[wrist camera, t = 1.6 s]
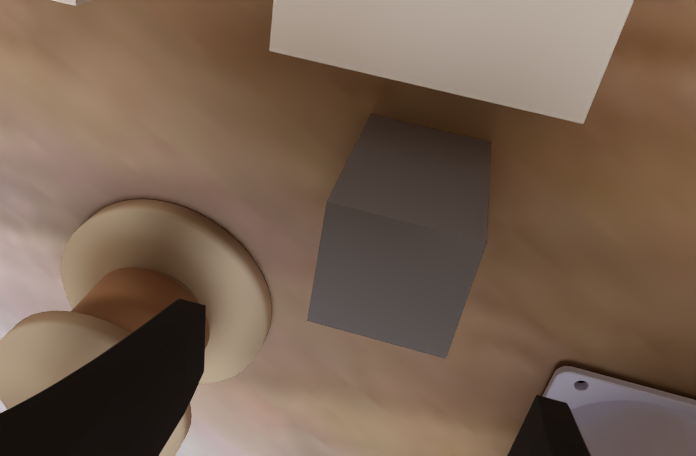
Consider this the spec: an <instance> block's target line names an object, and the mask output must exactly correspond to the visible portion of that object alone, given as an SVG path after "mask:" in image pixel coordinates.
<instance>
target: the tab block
mask: <svg viewBox="0 0 696 456" xmlns="http://www.w3.org/2000/svg"><path fill="white" fill-rule="evenodd" d="M490 156H491V142H487V141H483V140H479V139H475V138H470V137H466V136H462V135H458V134H454V133H450V132H445V131H441V130H437V129H433V128H429V127H424V126H420V125H416V124H412V123H408V122H403V121H399V120H395V119H391V118H387V117H383V116H378V115H374V114H371V115H370V117H369V119H368V121H367V123H366V125H365V127H364V129H363V131H362V133H361V135H360V137H359V139H358V141H357V143H356V145H355V147H354V149H353V151H352V153H351V155H350V157H349V159H348V161H347V163H346V165H345V167H344V168H343V170H342V172H341V174H340V176H339V178H338V180H337V182H336V184H335V186H334V188H333V190H332V192H331V194H330V196H329V198H328V200H327V204H326V210H325V216H324V222H323V228H322V234H321V240H320V246H319V252H318V259H317V265H316V271H315V277H314V283H313V289H312V295H311V301H310V307H309V313H308V320H307V321H310V322H314V323H318V324H321V325H325V326H328V327H332V328H336V329H339V330H343V331H347V332H350V333H354V334H358V335H361V336H365V337H369V338H372V339H376V340H380V341H383V342H387V343H390V344H394V345H398V346H401V347H405V348H409V349H412V350H416V351H420V352H423V353H427V354H431V355H434V356H438V357H441V358H445V359H446V356H447V354H448V351H449V348H450V345H451V342H452V339H453V337H454V334H455V331H456V328H457V325H458V323H459V320H460V317H461V314H462V311H463V308H464V306H465V303H466V300H467V297H468V294H469V292H470V289H471V286H472V283H473V280H474V277H475V275H476V272H477V269H478V266H479V263H480V261H481V258H482V255H483V252H484V249H485V246H486V244H487V229H488V204H489V180H490Z"/></svg>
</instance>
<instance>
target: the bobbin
mask: <svg viewBox="0 0 696 456" xmlns="http://www.w3.org/2000/svg"><path fill="white" fill-rule="evenodd" d="M61 275H62V282H63V287H64V290H65V293H66V296H67V299H68V301H69V303H70V305H71V307H72V309H73V310H72V311H71V312H69V311H47V312H40V313H37V314H33V315H31V316H29V317H27V318H25V319H23V320H22V321H20V322H19V323H18V324H17V325H16V326H15V327H14V328H13V329H12V330H10V331H9V332H8V333H7V334H6V335H5V336H4V337H3V338H2V339H1V340H0V399H1V400H2V402H3V404H4V405H5V407H6V408H7V409H10V408H12V407H14V406H16V405H17V404H19V403H21V402H23V401H25V400H27V399H29V398H30V397H32V396H34V395H36V394H38V393H39V392H41V391H43V390H45V389H46V388H48V387H50V386H52V385H53V384H55V383H57V382H58V381H60V380H62V379H63V378H65V377H66V376H68V375H70V374H71V373H73V372H74V371H76V370H78V369H79V368H81V367H82V366H84V365H86V364H87V363H89V362H90V361H92V360H93V359H95V358H96V357H98V356H99V355H101V354H102V353H104V352H105V351H107V350H108V349H109V348H111V347H112V346H114V345H115V344H117V343H118V342H120V341H121V340H123V339H124V338H125V337H127V336H128V335H130V334H131V333H132V332H134V331H135V330H136V329H138V328H139V327H141V326H142V325H143V324H145V323H146V322H147V321H149V320H150V319H151V318H153V317H154V316H156V315H157V314H158V313H160V312H161V311H162V310H164V309H165V308H166V307H168V306H169V305H170V304H172V303H173V302H174V301H176V300H178V299H183V300H187V301H191V302H195V303H198V304H202V305H206V320H205V360H204V373H203V375H202V377H201V379H200V381H199V384H207V383H214V382H219V381H222V380H225V379H228V378H231V377H233V376H235V375H237V374H239V373H240V372H241V371H243V370H244V369H245V368H247V367H248V366H249V364H250V363H251V362H252V361H253V360H254V358H255V357H256V355H257V354H258V352H259V350H260V348H261V346H262V344H263V342H264V340H265V338H266V335H267V333H268V330H269V328H270V323H271V316H272V306H271V298H270V294H269V290H268V287H267V284H266V281H265V279H264V277H263V275H262V273H261V271H260V269H259V267H258V266H257V264H256V262H255V261H254V260H253V258H252V257H251V256H250V254H249V253H248V252H247V250H246V249H245V248H244V247H243V246H242V245H241V244H240V243H239V242H238V241H237V240H236V239H235V238H234V237H233V236H232V235H230V234H229V233H228V232H227V231H226V230H225V229H223V228H222V227H220V226H219V225H217V224H216V223H215V222H213V221H211V220H210V219H208V218H206V217H204V216H203V215H201V214H199V213H197V212H194V211H192V210H190V209H188V208H185V207H182V206H179V205H176V204H173V203H169V202H164V201H159V200H149V199H134V200H126V201H121V202H117V203H114V204H111V205H109V206H107V207H105V208H103V209H101V210H99V211H98V212H97V213H95V214H94V215H93V216H92V217H91V218H89V219H88V220H87V221H86V222H85V223H84V224H83V225H82V226H80V227H79V228H78V229H77V230H76V231H75V232H74V234H73V235H72V236H71V237H70V239H69V240H68V242H67V244H66V246H65V249H64V252H63V256H62V263H61ZM191 417H192V416H191V406H190V403H189V405H188V407H187V409H186V412H185V413H184V415H183V417H182V418H181V420H180V422H179V423H178V425H177V427H176V428H175V430H174V432H173V433H172V435H171V437H170V438H169V440H168V441H167V443H166V445H165V446H164V448H163V450H162V451H161V453H160V454H159V456H175V455H176V453H177V451H178V450H179V448H180V446H181V444H182V442H183V440H184V438H185V437H186V435H187V433H188V431H189V428H190V425H191Z"/></svg>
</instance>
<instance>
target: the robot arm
mask: <svg viewBox="0 0 696 456" xmlns="http://www.w3.org/2000/svg"><path fill="white" fill-rule="evenodd" d="M205 320H206V305H202V304H198V303H195V302H191V301H187V300H183V299H178V300H176V301H174V302H173V303H172V304H170V305H169V306H168V307H166V308H165V309H164V310H162V311H161V312H160V313H158V314H157V315H156V316H154V317H153V318H151V319H150V320H149V321H147V322H146V323H145V324H143V325H142V326H141V327H139V328H138V329H136V330H135V331H134V332H132V333H131V334H130V335H128V336H127V337H125V338H124V339H123V340H121V341H120V342H118V343H117V344H115V345H114V346H112V347H111V348H109V349H108V350H107V351H105V352H104V353H102V354H101V355H99V356H98V357H96V358H95V359H93V360H92V361H90V362H89V363H87V364H86V365H84V366H82V367H81V368H79V369H78V370H76V371H74V372H73V373H71V374H70V375H68V376H66V377H65V378H63V379H62V380H60V381H58V382H57V383H55V384H53V385H52V386H50V387H48V388H46V389H45V390H43V391H41V392H39V393H38V394H36V395H34V396H32V397H30V398H29V399H27V400H25V401H23V402H21V403H19V404H17V405H16V406H14V407H12V408H10V409H8V410H6V411H4V412H2V413H0V456H159V454H160V453H161V451H162V450H163V448H164V446H165V445H166V443H167V441H168V440H169V438H170V437H171V435H172V433H173V432H174V430H175V428H176V427H177V425H178V423H179V422H180V420H181V418H182V417H183V415H184V413H185V412H186V409H187V407H188V405H189V403H190V401H191V399H192V397H193V395H194V393H195V390H196V388H197V386H198V384H199V381H200V379H201V377H202V375H203V373H204V360H205ZM577 381H585V382H583V383H577ZM508 456H696V400H694V399H690V398H686V397H683V396H679V395H675V394H672V393H668V392H664V391H660V390H657V389H653V388H649V387H646V386H642V385H638V384H635V383H631V382H627V381H624V380H620V379H616V378H612V377H609V376H605V375H601V374H598V373H594V372H590V371H587V370H583V369H579V368H575V367H572V366H563V367H560V368H558V369H557V370H556V371H555V372H554V374H553V376H552V378H551V380H550V382H549V384H548V386H547V388H546V390H545V392H544V394H543V396H539V395H537V396H536V398H535V400H534V402H533V404H532V406H531V408H530V410H529V412H528V414H527V416H526V419H525V421H524V423H523V425H522V427H521V429H520V431H519V433H518V435H517V437H516V439H515V441H514V443H513V445H512V447H511V450H510V452H509V454H508Z"/></svg>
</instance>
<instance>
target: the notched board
mask: <svg viewBox="0 0 696 456" xmlns="http://www.w3.org/2000/svg"><path fill="white" fill-rule="evenodd" d="M53 1H57V2H61V3H65V4H70V5H74V6H78V5H80V4H83V3H86V2H89V1H91V0H53ZM633 2H634V0H274V2H273V13H272V25H271V36H270V48H269V51H272V52H276V53H280V54H285V55H289V56H293V57H297V58H302V59H306V60H310V61H315V62H319V63H323V64H328V65H332V66H336V67H340V68H345V69H349V70H353V71H358V72H362V73H366V74H370V75H375V76H379V77H383V78H388V79H392V80H396V81H401V82H405V83H409V84H413V85H418V86H422V87H426V88H431V89H435V90H439V91H444V92H448V93H452V94H456V95H461V96H465V97H469V98H474V99H478V100H482V101H486V102H491V103H495V104H499V105H504V106H508V107H512V108H517V109H521V110H525V111H529V112H534V113H538V114H542V115H547V116H551V117H555V118H560V119H564V120H568V121H572V122H577V123H581V124H584V121H585V119H586V116H587V114H588V111H589V109H590V107H591V104H592V102H593V99H594V97H595V94H596V92H597V89H598V87H599V85H600V82H601V80H602V77H603V75H604V72H605V70H606V68H607V65H608V63H609V60H610V58H611V55H612V53H613V50H614V48H615V46H616V43H617V41H618V38H619V36H620V33H621V31H622V28H623V26H624V24H625V21H626V19H627V16H628V14H629V11H630V9H631V6H632V4H633Z"/></svg>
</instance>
